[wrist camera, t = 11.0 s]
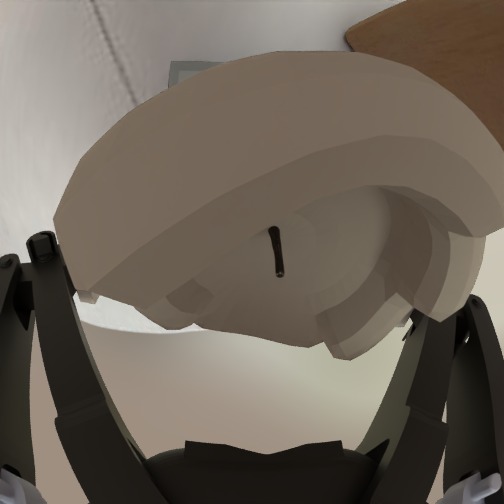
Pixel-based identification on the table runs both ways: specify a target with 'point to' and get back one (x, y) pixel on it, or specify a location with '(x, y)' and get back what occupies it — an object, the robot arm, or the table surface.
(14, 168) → the table surface
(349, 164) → the candle
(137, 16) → the table surface
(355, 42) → the wooden block
